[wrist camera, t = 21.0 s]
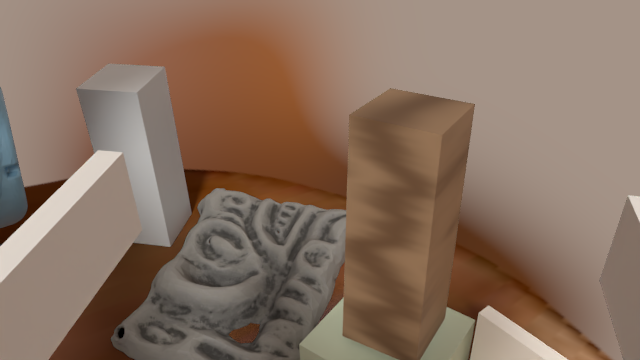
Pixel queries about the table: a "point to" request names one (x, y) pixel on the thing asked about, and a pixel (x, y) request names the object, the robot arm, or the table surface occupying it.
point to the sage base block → (349, 356)
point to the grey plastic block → (140, 143)
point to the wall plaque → (240, 282)
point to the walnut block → (402, 218)
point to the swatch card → (506, 340)
